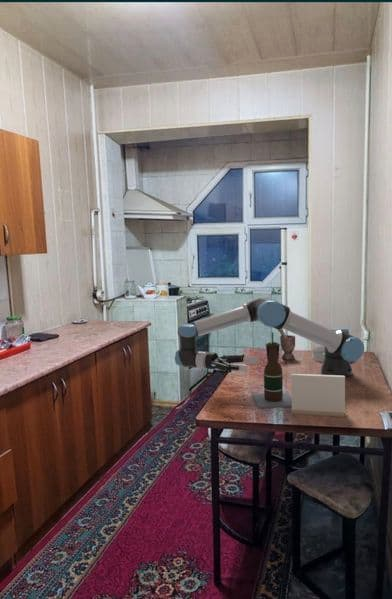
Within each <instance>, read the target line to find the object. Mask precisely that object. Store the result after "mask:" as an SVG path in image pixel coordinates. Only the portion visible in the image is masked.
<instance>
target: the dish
mask: <svg viewBox="0 0 392 599" xmlns="http://www.w3.org/2000/svg"><path fill="white" fill-rule="evenodd" d="M311 358H312V360H313V361H315V362H318V363H323V361H324V358H325V347H324V346H320V347H319V346H318V347H315V348H313V349H312V356H311Z"/></svg>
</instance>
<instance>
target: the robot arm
mask: <svg viewBox="0 0 392 599" xmlns="http://www.w3.org/2000/svg"><path fill="white" fill-rule="evenodd" d="M246 322H248V323H254V322H260V323H261V324H263V325H264V326H267V327H269V328H270V327H271V328H274V329H275V330H277V331H278V330H281V329H283V330H286V331H288V332H291V333H293V334H295V335H297V336H299V337H302V338H303V339H307V340H308V341H310V342H312V343H315V344H317V345H320V346H321V347H325V358H324V361H323V362H322V364H321V368H320V373H321V375H341V376H345V378H347V377H350V376H352V375H353V368H352V364H351V363H353V362H357V361H359V360H360V359H361V358H362V356H363V355H364V353H365V344H364V342H363V341H362V340H361V339H360V338H359V337H358V336H354V335H352V334H350V331H349V328H344V327H343V328H340V327H339V328H328V327H325V326H323V325H321V324H319V323H316V322H315V321H312V320H310V319H308V318H306V317H304V316H301V315H299V314H297V313H294V312H292V310H291V308H290V307H289V306H288V305H284V304H283V303H280V301H277V300H274V299H271V298H269V297H259V298H257V299H254V300H251V301H249V302H246V303H243V304H242V306H240V307H236V308H234V309H230V310H227V311H224V312H220V313H217V314H215V315H214V314H213V315H212V316H208V317H205V318H201V319H199V320H195V321H192V322H189V323H188V322H186V323H182V324H180V325H179V327H178V329H177V335H178V337H179V345H180V346H179V349H178V350H177V351H176V352H175V356H174V362H175V364H176V365H177V366H179V367H184V368H197V369H200V370H204V369H206V370H207V369H208V370H220V371H223V372H227V373H232V372H233V371H234V372H235V371H236V372H244V373H247V372H248V365H247V364H252V365H253V364H254V365H258V364H259V358H258V357H254V356H245V354H241V355H237V354H235V355H221V356H220V357H219V355H218V353H216V352H211V351H209V352H208V351H201V350H197V338H198V337H201V336H204V335H207V334H210V333H213V332H216V331H220V330H223V329H226V328H229V327H232V326H236V325H239V324H243V323H246ZM238 363H239V364H238ZM240 363H242V364H240Z"/></svg>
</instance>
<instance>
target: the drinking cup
mask: <svg viewBox="0 0 392 599" xmlns="http://www.w3.org/2000/svg"><path fill="white" fill-rule="evenodd" d="M270 343H276V344H277V358H278V360H279V356H280V348H281V343H278V342H275V341H274V332H272V333H271V341H270V342H268V343H265V348H266V349H265V350H266V358H267V361H268V359H269V346H268V345H269V344H270Z"/></svg>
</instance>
